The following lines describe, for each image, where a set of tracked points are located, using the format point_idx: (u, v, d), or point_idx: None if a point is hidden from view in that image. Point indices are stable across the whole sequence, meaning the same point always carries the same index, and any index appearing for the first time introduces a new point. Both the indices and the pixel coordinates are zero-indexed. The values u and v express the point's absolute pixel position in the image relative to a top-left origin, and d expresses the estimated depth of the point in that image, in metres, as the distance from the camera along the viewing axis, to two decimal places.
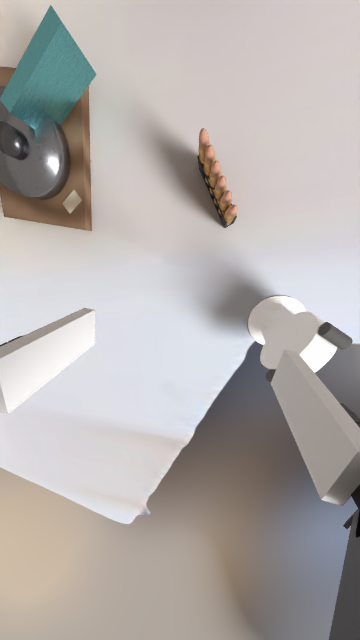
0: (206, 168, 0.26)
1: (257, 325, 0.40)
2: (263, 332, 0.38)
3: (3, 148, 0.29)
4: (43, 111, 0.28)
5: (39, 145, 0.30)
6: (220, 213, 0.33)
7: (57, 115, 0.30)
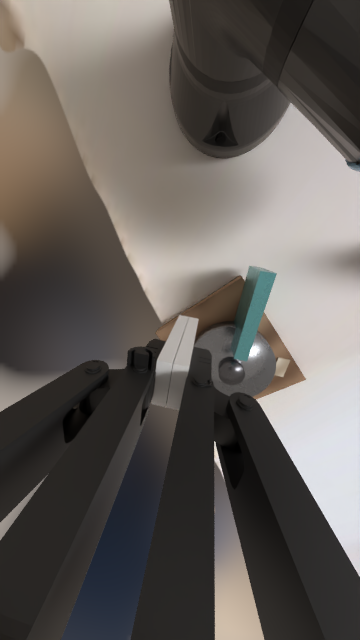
0: None
1: None
2: None
3: (232, 382, 0.30)
4: None
5: (251, 355, 0.30)
6: None
7: None
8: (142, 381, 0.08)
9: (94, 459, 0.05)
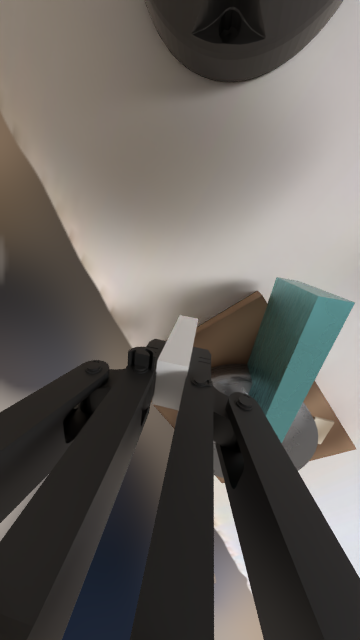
0: None
1: None
2: None
3: None
4: None
5: None
6: None
7: None
8: (143, 381, 0.08)
9: (95, 459, 0.05)
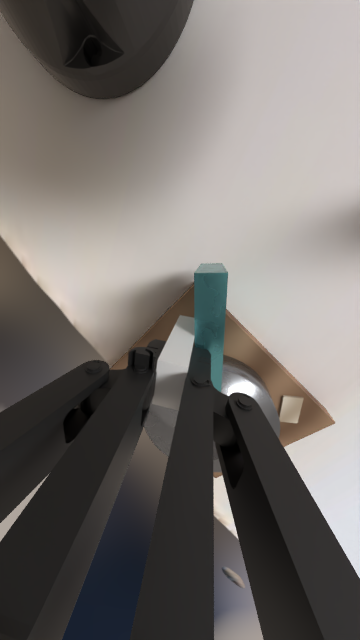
0: None
1: None
2: None
3: None
4: None
5: None
6: None
7: None
8: (143, 381, 0.08)
9: (95, 459, 0.05)
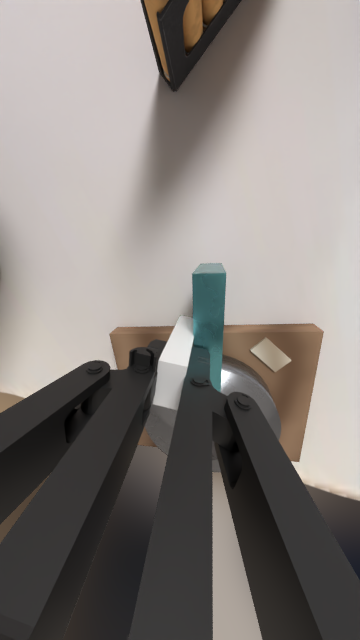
0: None
1: None
2: None
3: (212, 456, 0.18)
4: None
5: None
6: None
7: None
8: (143, 382, 0.08)
9: (96, 459, 0.05)
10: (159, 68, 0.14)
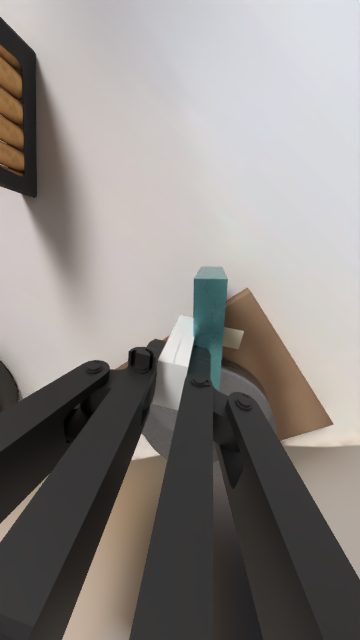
0: None
1: None
2: None
3: None
4: None
5: None
6: (14, 72, 0.15)
7: None
8: (143, 381, 0.08)
9: (95, 459, 0.05)
10: (18, 191, 0.19)
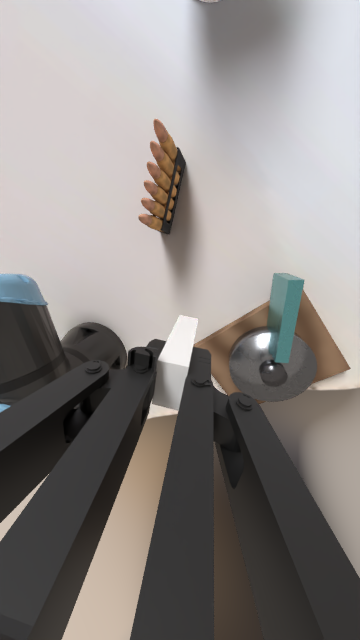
0: (159, 206, 0.25)
1: None
2: None
3: (276, 384, 0.31)
4: None
5: (290, 355, 0.31)
6: (178, 175, 0.29)
7: None
8: (142, 381, 0.08)
9: (95, 459, 0.05)
10: (160, 231, 0.33)
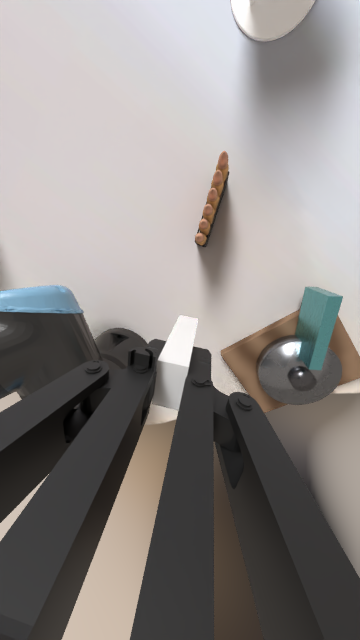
0: (209, 224, 0.27)
1: None
2: None
3: (305, 388, 0.34)
4: None
5: None
6: (221, 194, 0.31)
7: None
8: (142, 381, 0.08)
9: (95, 459, 0.05)
10: (197, 244, 0.35)
